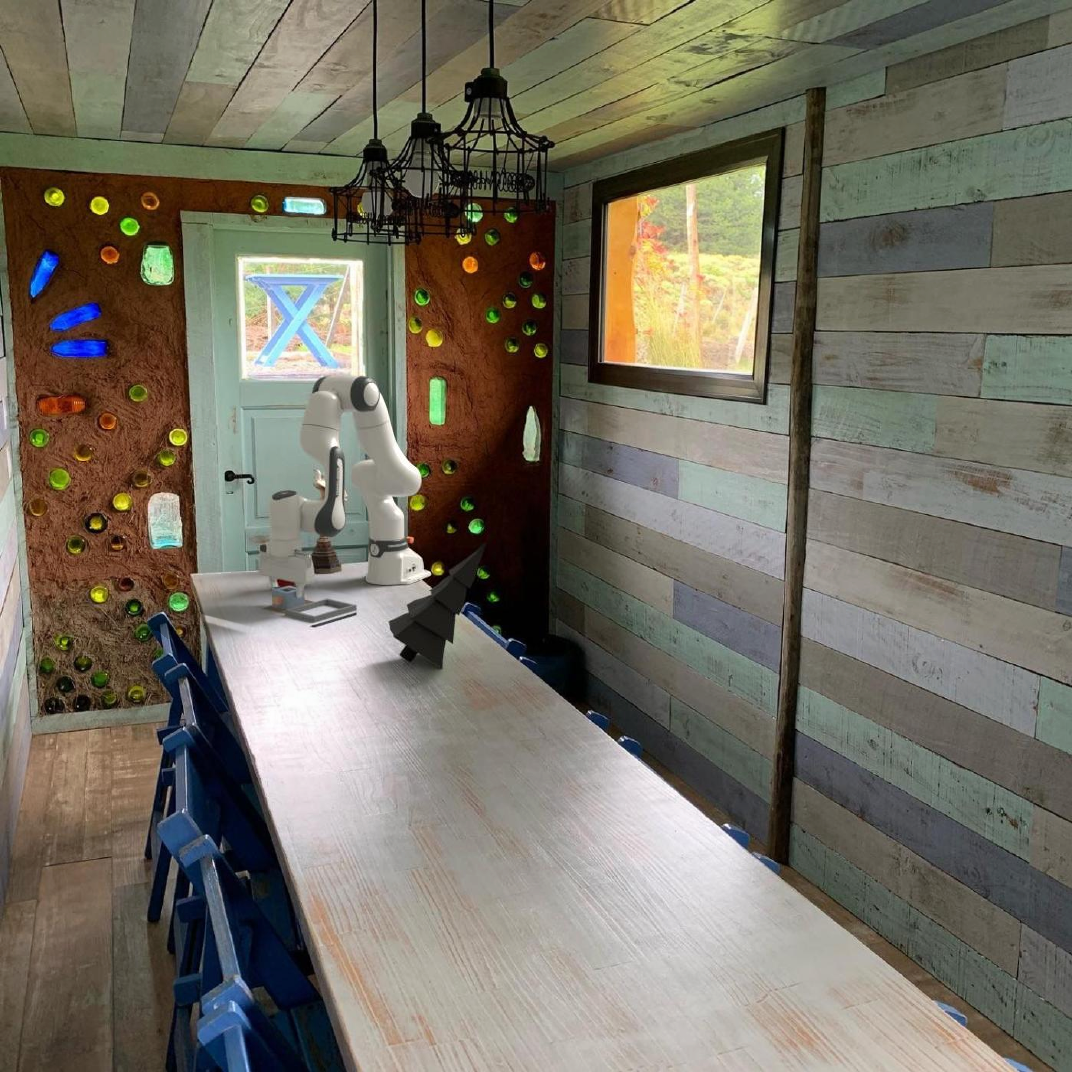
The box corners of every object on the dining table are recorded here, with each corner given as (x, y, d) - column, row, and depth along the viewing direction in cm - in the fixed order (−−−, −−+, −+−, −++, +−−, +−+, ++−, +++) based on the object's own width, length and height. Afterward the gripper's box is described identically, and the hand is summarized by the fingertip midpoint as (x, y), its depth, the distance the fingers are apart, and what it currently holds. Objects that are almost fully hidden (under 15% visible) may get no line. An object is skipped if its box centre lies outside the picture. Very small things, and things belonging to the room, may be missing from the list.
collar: (289, 602, 318) (289, 585, 317) (304, 605, 314) (304, 589, 313) (268, 607, 312) (267, 591, 311) (283, 611, 308) (282, 594, 307)
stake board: (299, 603, 323) (298, 582, 321) (322, 608, 317) (321, 587, 316) (262, 613, 312) (261, 591, 310) (285, 618, 306) (284, 596, 305)
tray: (327, 608, 317) (327, 598, 317) (356, 615, 310) (356, 605, 310) (285, 620, 304) (285, 610, 304) (314, 627, 298) (314, 617, 297)
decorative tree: (433, 682, 263) (515, 565, 262) (383, 651, 259) (466, 532, 258) (426, 664, 278) (504, 552, 276) (378, 634, 273) (457, 521, 272)
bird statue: (356, 564, 374) (353, 463, 367) (357, 572, 362) (354, 468, 355) (307, 565, 371) (303, 464, 364) (306, 574, 359) (303, 469, 352)
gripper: (319, 550, 306) (320, 598, 309) (270, 541, 318) (272, 587, 321) (302, 554, 301) (303, 602, 304) (253, 544, 313) (255, 591, 316)
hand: (287, 594), depth 312 cm, fingers open, 8 cm apart
